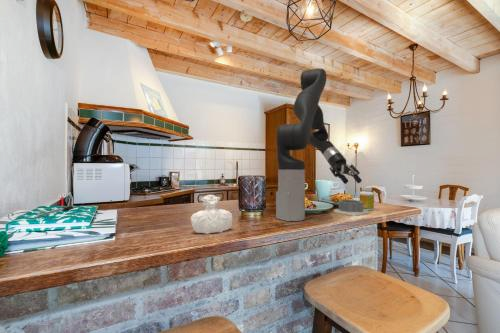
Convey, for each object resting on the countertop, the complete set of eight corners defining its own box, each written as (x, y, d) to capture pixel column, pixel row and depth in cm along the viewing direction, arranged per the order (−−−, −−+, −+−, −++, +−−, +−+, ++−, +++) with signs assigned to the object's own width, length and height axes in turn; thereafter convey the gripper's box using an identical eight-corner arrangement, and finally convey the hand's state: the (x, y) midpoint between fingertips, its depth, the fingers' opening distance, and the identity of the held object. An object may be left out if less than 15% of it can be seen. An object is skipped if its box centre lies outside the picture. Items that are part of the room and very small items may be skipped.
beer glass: (368, 211, 98) (368, 187, 98) (357, 209, 102) (356, 186, 102) (376, 210, 100) (376, 187, 100) (364, 208, 105) (364, 186, 105)
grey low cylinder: (355, 216, 88) (355, 203, 88) (333, 212, 95) (333, 201, 95) (368, 213, 93) (368, 201, 93) (346, 209, 101) (346, 199, 101)
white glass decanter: (231, 236, 70) (224, 202, 76) (238, 224, 64) (230, 189, 71) (190, 241, 65) (186, 204, 72) (193, 229, 60) (189, 191, 66)
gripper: (327, 151, 112) (347, 177, 102) (349, 152, 118) (369, 176, 108) (319, 163, 117) (337, 188, 107) (340, 163, 123) (359, 187, 113)
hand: (353, 182), depth 107 cm, fingers open, 8 cm apart
